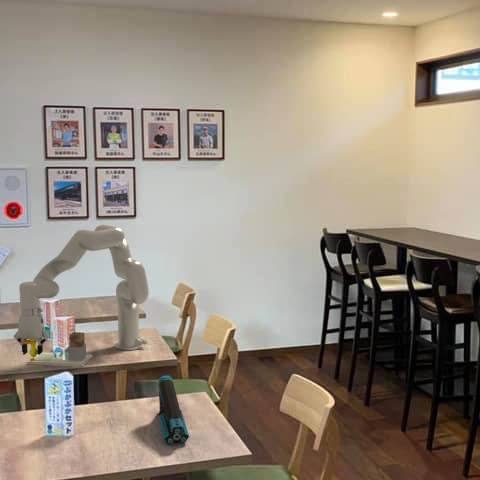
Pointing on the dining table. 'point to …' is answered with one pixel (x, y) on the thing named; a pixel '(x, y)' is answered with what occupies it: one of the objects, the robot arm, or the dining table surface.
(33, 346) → the toy figure
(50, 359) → the build plate
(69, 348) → the pedestal
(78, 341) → the walnut cube
